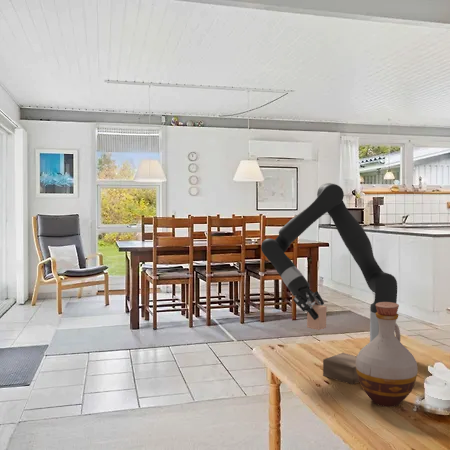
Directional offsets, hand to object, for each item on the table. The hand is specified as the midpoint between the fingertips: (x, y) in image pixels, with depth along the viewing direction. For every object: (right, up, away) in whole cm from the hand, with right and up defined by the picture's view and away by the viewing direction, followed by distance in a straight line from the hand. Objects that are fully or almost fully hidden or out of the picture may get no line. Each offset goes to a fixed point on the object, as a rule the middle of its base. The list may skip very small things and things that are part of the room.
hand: (321, 317), depth 176 cm
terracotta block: (-1, -4, +1) cm, 5 cm away
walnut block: (+8, -20, -7) cm, 22 cm away
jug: (+14, -20, -29) cm, 38 cm away
